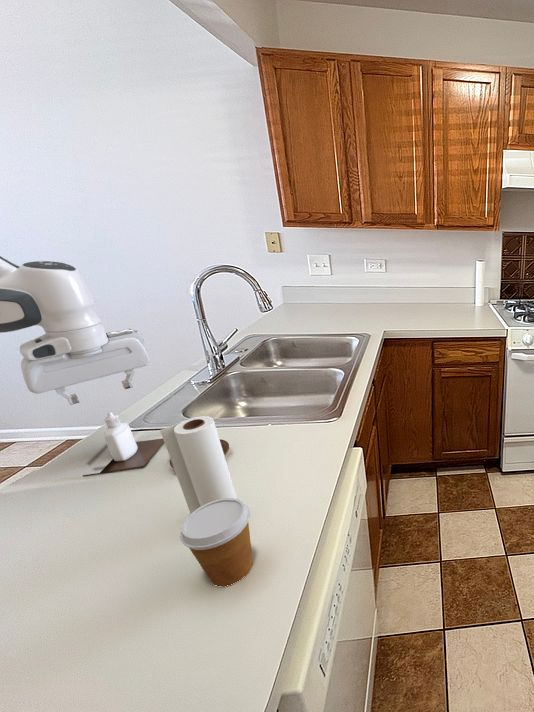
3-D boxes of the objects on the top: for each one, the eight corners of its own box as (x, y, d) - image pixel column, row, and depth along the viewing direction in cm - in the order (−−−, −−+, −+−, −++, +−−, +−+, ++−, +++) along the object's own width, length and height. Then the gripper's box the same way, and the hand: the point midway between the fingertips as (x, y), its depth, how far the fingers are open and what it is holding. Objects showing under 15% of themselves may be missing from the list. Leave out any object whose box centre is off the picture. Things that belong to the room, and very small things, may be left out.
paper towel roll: (247, 507, 81) (221, 417, 73) (222, 529, 76) (191, 435, 68) (219, 500, 83) (191, 412, 75) (193, 521, 78) (159, 428, 70)
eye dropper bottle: (145, 450, 98) (128, 408, 94) (119, 463, 93) (100, 420, 89) (133, 446, 100) (116, 405, 95) (107, 459, 95) (88, 416, 90)
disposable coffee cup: (190, 603, 62) (166, 547, 58) (209, 554, 71) (190, 502, 66) (256, 588, 65) (239, 533, 60) (268, 542, 73) (253, 491, 68)
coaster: (82, 476, 90) (81, 474, 90) (112, 446, 101) (111, 444, 100) (144, 468, 93) (143, 466, 93) (167, 439, 104) (166, 437, 103)
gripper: (134, 324, 94) (153, 376, 100) (7, 348, 79) (37, 408, 85) (143, 329, 91) (161, 383, 96) (12, 355, 76) (42, 417, 81)
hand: (102, 395), depth 90 cm, fingers open, 8 cm apart
